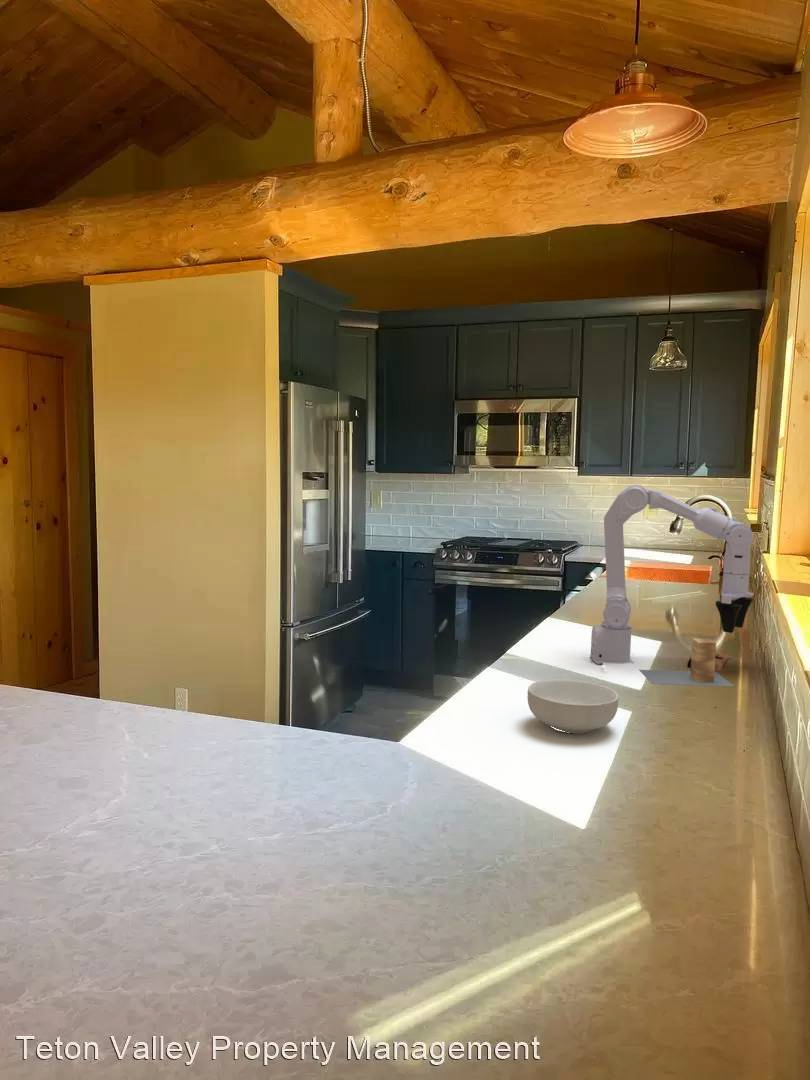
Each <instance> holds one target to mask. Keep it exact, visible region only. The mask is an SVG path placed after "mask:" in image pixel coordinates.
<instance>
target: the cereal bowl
mask: <svg viewBox="0 0 810 1080" xmlns="http://www.w3.org/2000/svg"><path fill="white" fill-rule="evenodd" d="M526 698H527V704H528V708H529V710H530V711H531V713H532V715H534V717H535V718H536V719H538V720H539V721H540V722H542V723H544V724H546V725H547V726H549V725H550V726H552V727H554V728H556V729H559V730H562V731H565V732H569V733H568V734H570V733H574V734H573V735H579V734H581V733H582V734H587V733H589V732H591V731H593V730H597V729H600V728H602V727H603V728H604V726H607V725H608V724H610V722H612V720H614V718H615V716H616V714H617V712H618V709H619V708H618V707H619V700H620V699H619V694H618V693H617V692H616V691H615V690H613V688H611V687H608V686H605V685H602V684H598V683H593V682H589V681H582V680H577V679H576V680H575V679H544V680H538V681H534V682H533V683H531V684H529V686H528V687H527V697H526ZM550 726H549V727H550Z"/></svg>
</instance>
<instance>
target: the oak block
mask: <svg viewBox="0 0 810 1080" xmlns="http://www.w3.org/2000/svg"><path fill="white" fill-rule="evenodd" d="M691 640H692V643H691V656H690V657H691V668H690V671H691V674H690V677H691V678H692V679H694V680H695V681H696V682H714V672H716V671H715V653H716V651H717V643H716V641H714V640H713V639H711V638H692V639H691Z"/></svg>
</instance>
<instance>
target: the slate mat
mask: <svg viewBox="0 0 810 1080" xmlns="http://www.w3.org/2000/svg"><path fill="white" fill-rule="evenodd" d="M639 672H641V674H642V675H643V676H644V677H645V678H646V679H647V680H648V682H650V683H651V685H671V686H700V687H701V686H704V687H705V686H707V687H708V686H709V687H734V684H732V683H731V682H730V681H728V680H727V679H726V678H725V677H723V676H722V675H721V674H719V673H718V672H717V671H714V682H696V681H695V680H694V679H692V678H691V677H690V674H691V670H666V669H665V670H661V669H639Z"/></svg>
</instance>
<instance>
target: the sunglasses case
mask: <svg viewBox="0 0 810 1080" xmlns="http://www.w3.org/2000/svg"><path fill="white" fill-rule="evenodd" d="M729 660H732V658H731V657H730V656H729V655H727V654H725V653H723V652H720V651H719V650H716V653H715V671H714V672H717V671H718V672H720V671H723V670H724V668H725V666H726V664H727V663H728V661H729ZM686 666H687V668H689V669H691V656H690V657H689V659H688V661H687V665H686Z"/></svg>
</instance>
